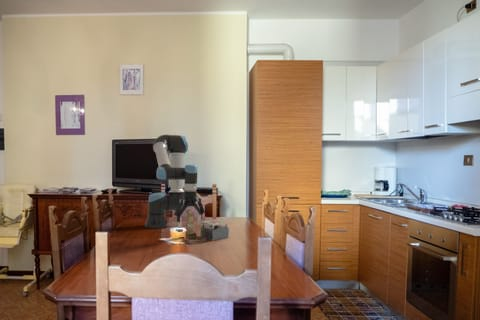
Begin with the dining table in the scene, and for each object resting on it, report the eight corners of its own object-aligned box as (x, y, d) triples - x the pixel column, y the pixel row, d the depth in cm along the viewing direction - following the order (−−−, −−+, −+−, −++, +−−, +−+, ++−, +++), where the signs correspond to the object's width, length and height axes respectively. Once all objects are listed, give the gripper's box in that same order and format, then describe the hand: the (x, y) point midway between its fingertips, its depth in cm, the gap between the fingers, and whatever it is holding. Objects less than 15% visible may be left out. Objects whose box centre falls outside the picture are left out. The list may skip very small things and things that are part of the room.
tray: (182, 242, 178) (182, 237, 178) (196, 239, 184) (196, 235, 184) (191, 245, 171) (191, 241, 171) (206, 243, 177) (206, 238, 177)
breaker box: (200, 237, 189) (200, 221, 189) (216, 235, 196) (216, 219, 197) (212, 242, 180) (212, 224, 180) (228, 239, 188) (228, 222, 188)
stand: (179, 237, 187) (180, 232, 187) (191, 236, 192) (191, 230, 192) (187, 240, 181) (187, 235, 181) (198, 238, 186) (198, 233, 186)
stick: (185, 236, 187) (186, 210, 187) (190, 236, 189) (190, 209, 189) (188, 237, 184) (189, 210, 184) (193, 237, 187) (193, 210, 187)
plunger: (210, 226, 188) (210, 222, 188) (215, 225, 191) (215, 221, 191) (214, 227, 185) (214, 223, 185) (219, 226, 188) (219, 222, 188)
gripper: (175, 192, 176) (174, 229, 176) (211, 190, 192) (210, 224, 192) (168, 190, 181) (167, 227, 181) (204, 189, 198) (203, 222, 198)
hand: (189, 226), depth 187 cm, fingers open, 13 cm apart
